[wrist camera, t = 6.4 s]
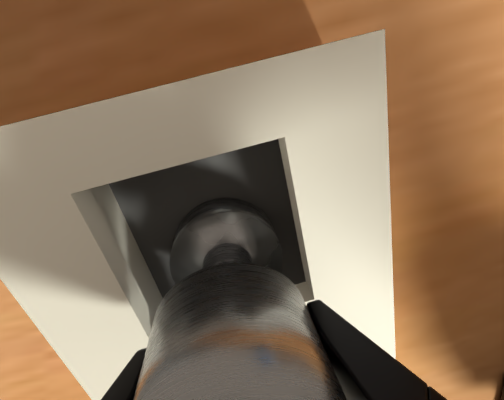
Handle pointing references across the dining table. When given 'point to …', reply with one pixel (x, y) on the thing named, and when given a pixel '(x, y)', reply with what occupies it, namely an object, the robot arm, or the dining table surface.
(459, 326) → the dining table surface
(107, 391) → the robot arm
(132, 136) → the keyhole board
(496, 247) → the dining table surface
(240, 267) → the keyhole peg
